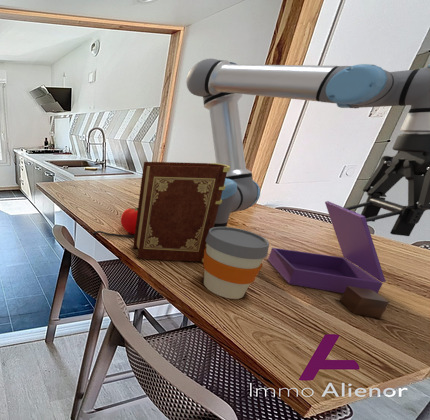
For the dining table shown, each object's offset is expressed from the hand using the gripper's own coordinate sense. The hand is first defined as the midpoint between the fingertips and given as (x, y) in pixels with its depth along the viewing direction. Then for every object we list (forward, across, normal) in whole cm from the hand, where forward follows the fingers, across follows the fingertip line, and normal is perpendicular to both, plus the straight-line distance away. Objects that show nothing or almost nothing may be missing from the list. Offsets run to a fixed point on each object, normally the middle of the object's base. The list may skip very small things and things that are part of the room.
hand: (381, 227), depth 61 cm
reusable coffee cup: (+17, -15, +34) cm, 41 cm away
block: (+17, -13, +6) cm, 22 cm away
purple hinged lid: (+4, 0, +5) cm, 6 cm away
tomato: (+17, +14, +58) cm, 62 cm away
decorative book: (+17, -1, +46) cm, 50 cm away
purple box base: (+17, 0, +8) cm, 19 cm away
